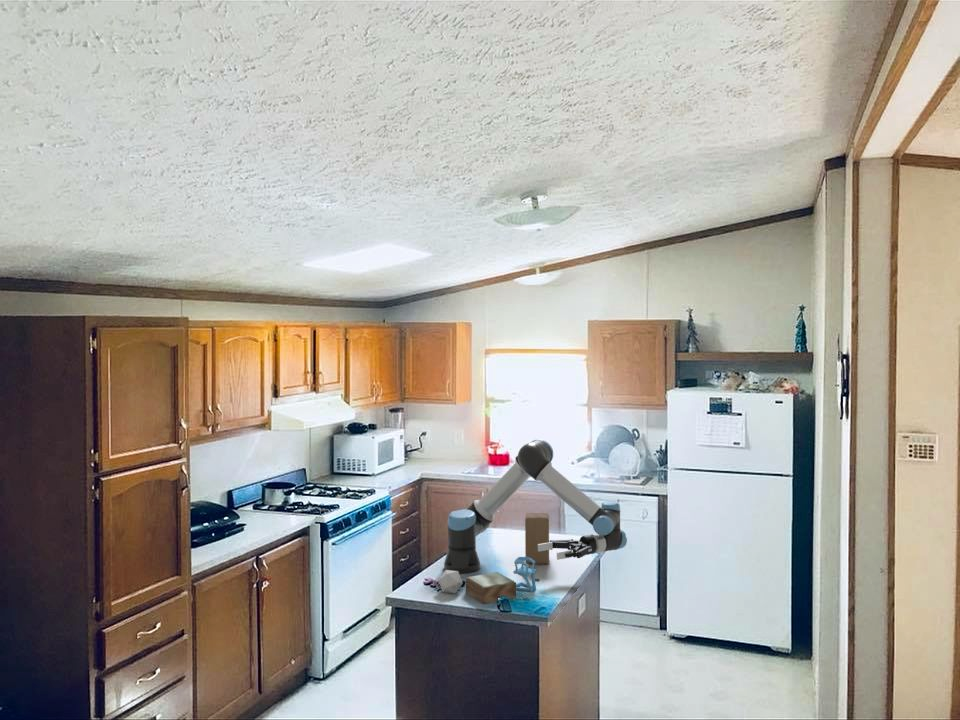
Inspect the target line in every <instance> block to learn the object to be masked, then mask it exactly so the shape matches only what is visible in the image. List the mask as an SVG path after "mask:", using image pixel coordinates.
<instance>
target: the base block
mask: <svg viewBox="0 0 960 720" xmlns="http://www.w3.org/2000/svg"><path fill="white" fill-rule="evenodd" d="M516 584H517V582H516V581H514V580H512V579H511V578H509V577H507V576H505V575H504V574H501V573H500V572H498V571H496V572H491V573H484V574H478V575H474V576H473V575H472V576H467V577H466V578H465V593H466V594H467V595H469V596H470V597H472V598H473V599H475V600H476V601H478V602H479V603H481V604H483V605H485V604H489V603H495V602H498V601H497V600H498V598H500V597H508V598H510V599H515V598H517V590H516ZM510 599H509V600H510Z"/></svg>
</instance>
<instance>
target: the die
mask: <svg viewBox="0 0 960 720" xmlns="http://www.w3.org/2000/svg"><path fill="white" fill-rule="evenodd" d="M437 581H438V583H439V586H440V588H441V591H442V593H446V594H447V593H450V594H457V592H458V591H459V589H460V588H461V586H462V585H463V584H464V582H463V580H462V578H461V575H460V573H459V572H458V571H451V570H445V569H444V572H443V573H442V574H441V575H440V577H439V578H438V580H437Z"/></svg>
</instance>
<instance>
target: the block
mask: <svg viewBox="0 0 960 720" xmlns="http://www.w3.org/2000/svg"><path fill="white" fill-rule="evenodd" d="M524 521H525V523H524V524H525V525H524V526H525V528H524V530H525V531H524V532H525V533H524V534H525V536H524V539H525V550H524V551H525V557H528V558H531V559H532V560H534V561H535V564H534V565H548V564H549V563H550V550H545V551H538V544H543V543H549V542H550V515H549V513H548V512H527V513H526V515H525V520H524ZM525 563H528V564H529V565H530V564H531V565H533V563H532V562H531V561H529V560H525Z"/></svg>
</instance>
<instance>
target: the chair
mask: <svg viewBox="0 0 960 720" xmlns="http://www.w3.org/2000/svg"><path fill="white" fill-rule="evenodd" d="M526 560H529V561H531V562H532V563H533V564H531V565H532V566H531V568H530V567H529V566H530V564H527V563H526ZM518 565H521V567H518ZM535 565H536V564H535V561H534V560H532V559H531V558H528V557H526V556H518V557H517V558H515V560H514V566H515V569H514V571H512V573H513V574H514V575H518V576H521V577H522V578H523V580H524V581H525V582H526V583H525V582H523V581H522V582H521V581H520V582H518V583H516V591H522V592H523V591H524V592H534V590H537V584H536V577H535V573H536V572H537V569H535ZM529 576H530V580H531V583H530V580H529V578H528V577H529ZM519 586H524V587H519Z"/></svg>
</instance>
